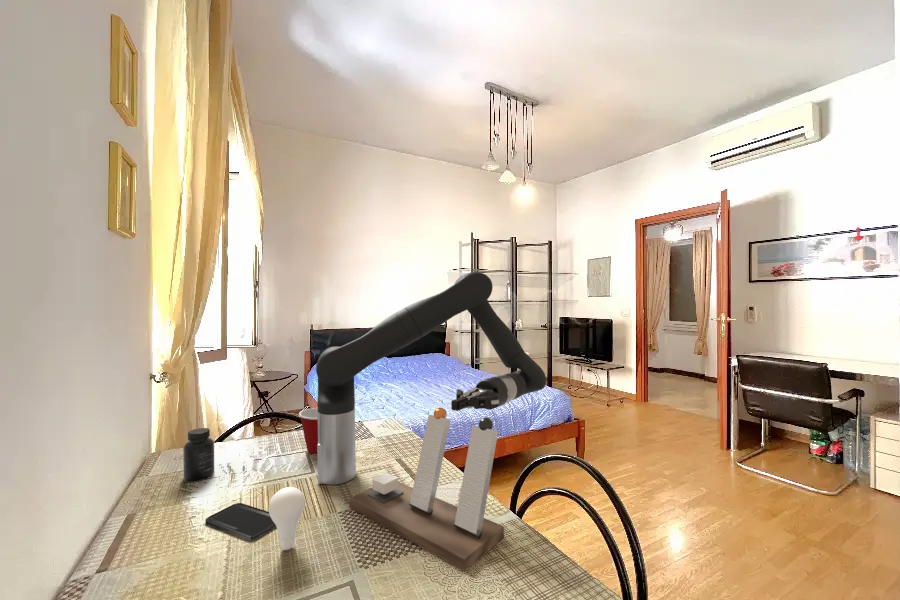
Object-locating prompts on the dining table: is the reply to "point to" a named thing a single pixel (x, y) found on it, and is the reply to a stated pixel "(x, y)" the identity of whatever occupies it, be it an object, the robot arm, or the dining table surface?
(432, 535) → the walnut panel
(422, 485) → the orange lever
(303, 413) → the plastic cup
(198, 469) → the supplement bottle
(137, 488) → the dining table surface
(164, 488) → the dining table surface
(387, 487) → the white button
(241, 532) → the phone
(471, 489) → the grey upright post
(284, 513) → the lightbulb
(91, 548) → the dining table surface
